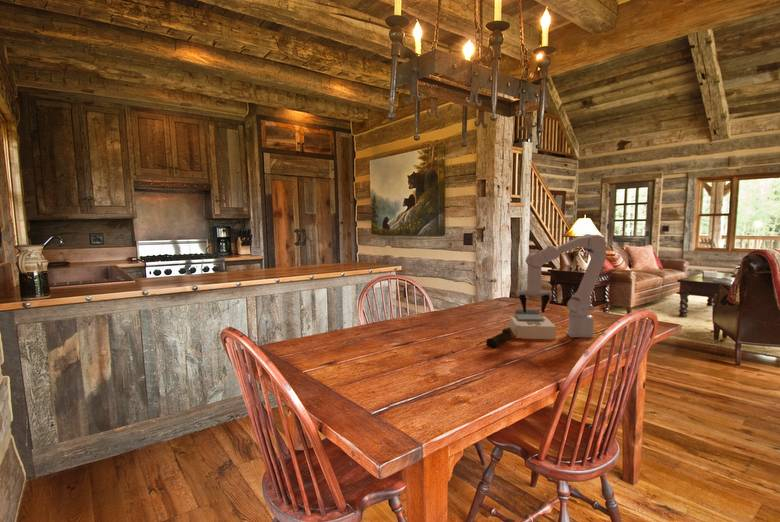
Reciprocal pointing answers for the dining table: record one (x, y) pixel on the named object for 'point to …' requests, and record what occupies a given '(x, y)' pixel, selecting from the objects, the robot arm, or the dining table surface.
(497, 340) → the hand tool
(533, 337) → the housing
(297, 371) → the dining table surface
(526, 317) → the cover
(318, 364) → the dining table surface
